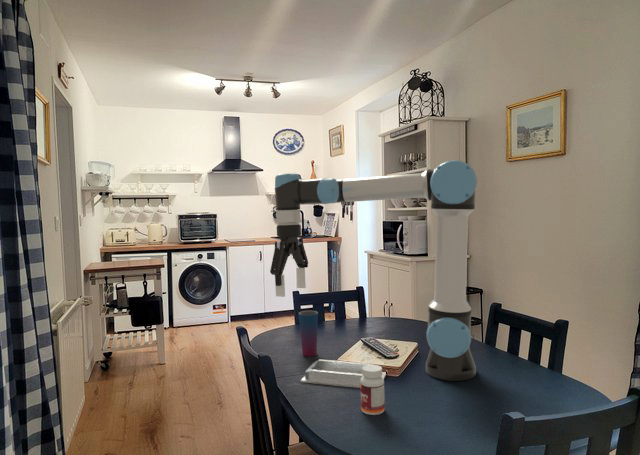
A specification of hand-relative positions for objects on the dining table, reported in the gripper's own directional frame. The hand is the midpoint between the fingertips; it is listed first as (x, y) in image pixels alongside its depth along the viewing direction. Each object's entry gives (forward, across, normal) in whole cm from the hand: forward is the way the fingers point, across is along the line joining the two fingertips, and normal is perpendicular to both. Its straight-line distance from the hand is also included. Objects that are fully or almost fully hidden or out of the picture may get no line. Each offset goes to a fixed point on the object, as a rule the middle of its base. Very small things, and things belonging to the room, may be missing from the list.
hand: (291, 292), depth 145 cm
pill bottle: (+27, +14, +30) cm, 43 cm away
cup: (+27, -20, -5) cm, 34 cm away
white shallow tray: (+27, -4, +15) cm, 31 cm away
